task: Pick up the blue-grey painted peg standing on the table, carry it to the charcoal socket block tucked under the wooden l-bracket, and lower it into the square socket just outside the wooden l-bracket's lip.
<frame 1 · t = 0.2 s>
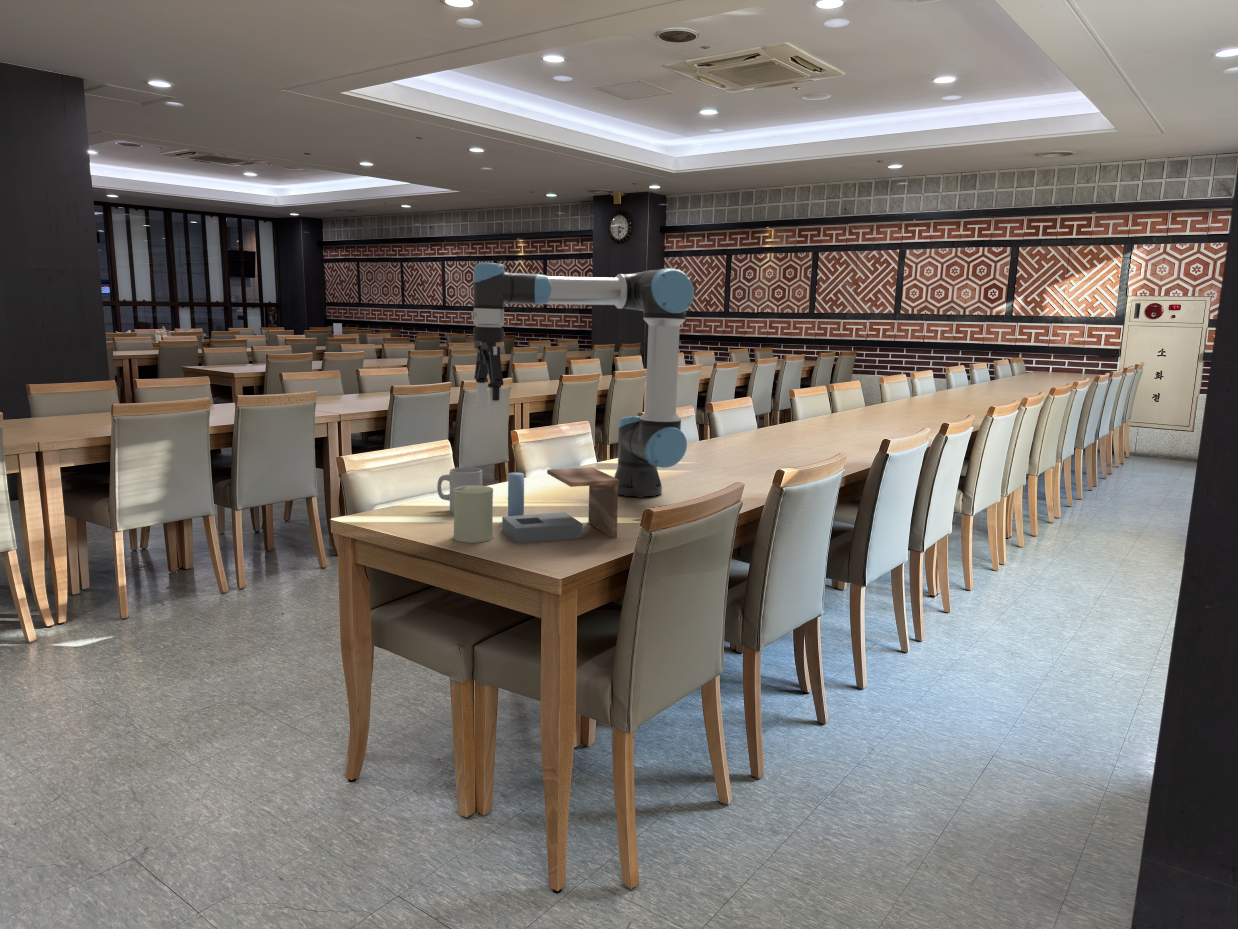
hand: (488, 410, 211), 27 cm above the table, fingers open, 13 cm apart
wooden l-bracket: (581, 531, 201), on the table
peg: (515, 520, 210), on the table
mug: (459, 511, 219), on the table
can: (473, 538, 192), on the table
socket: (541, 534, 197), on the table
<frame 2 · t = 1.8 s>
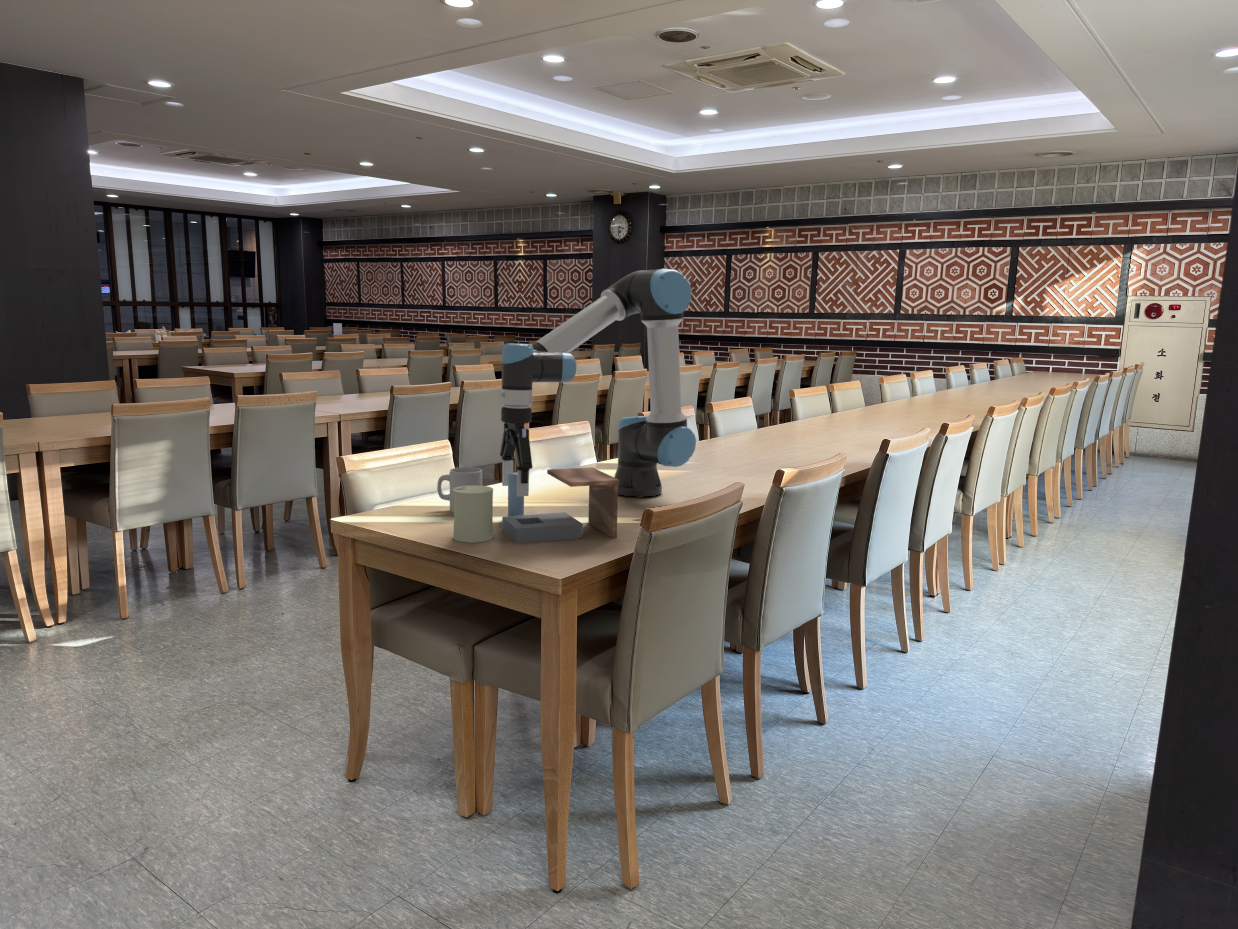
hand: (514, 490, 208), 8 cm above the table, fingers open, 13 cm apart
nothing on the table moved.
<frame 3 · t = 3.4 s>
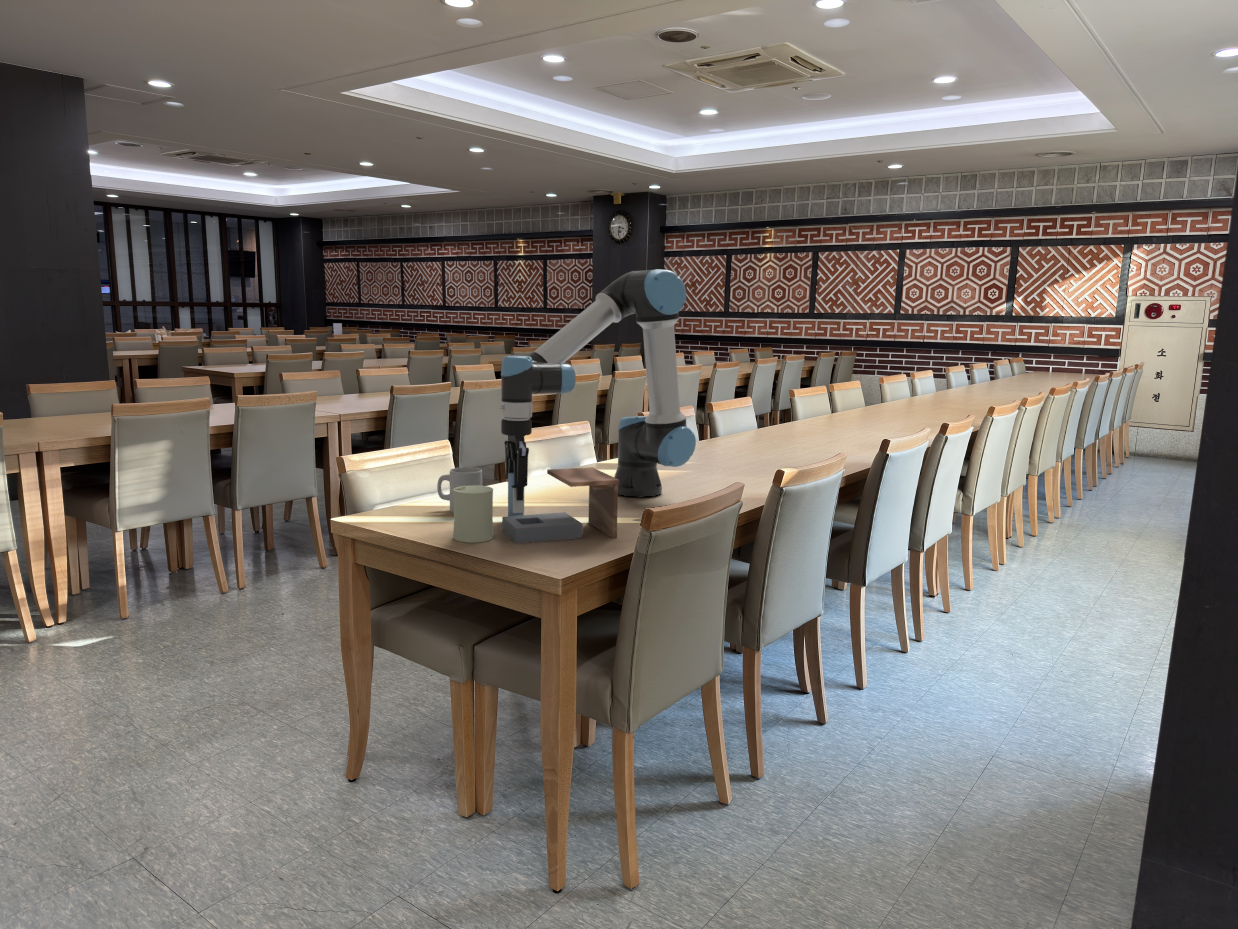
hand: (515, 510, 209), 3 cm above the table, fingers closed on peg, 4 cm apart
peg: (515, 520, 210), on the table, touching gripper
everything else where it was.
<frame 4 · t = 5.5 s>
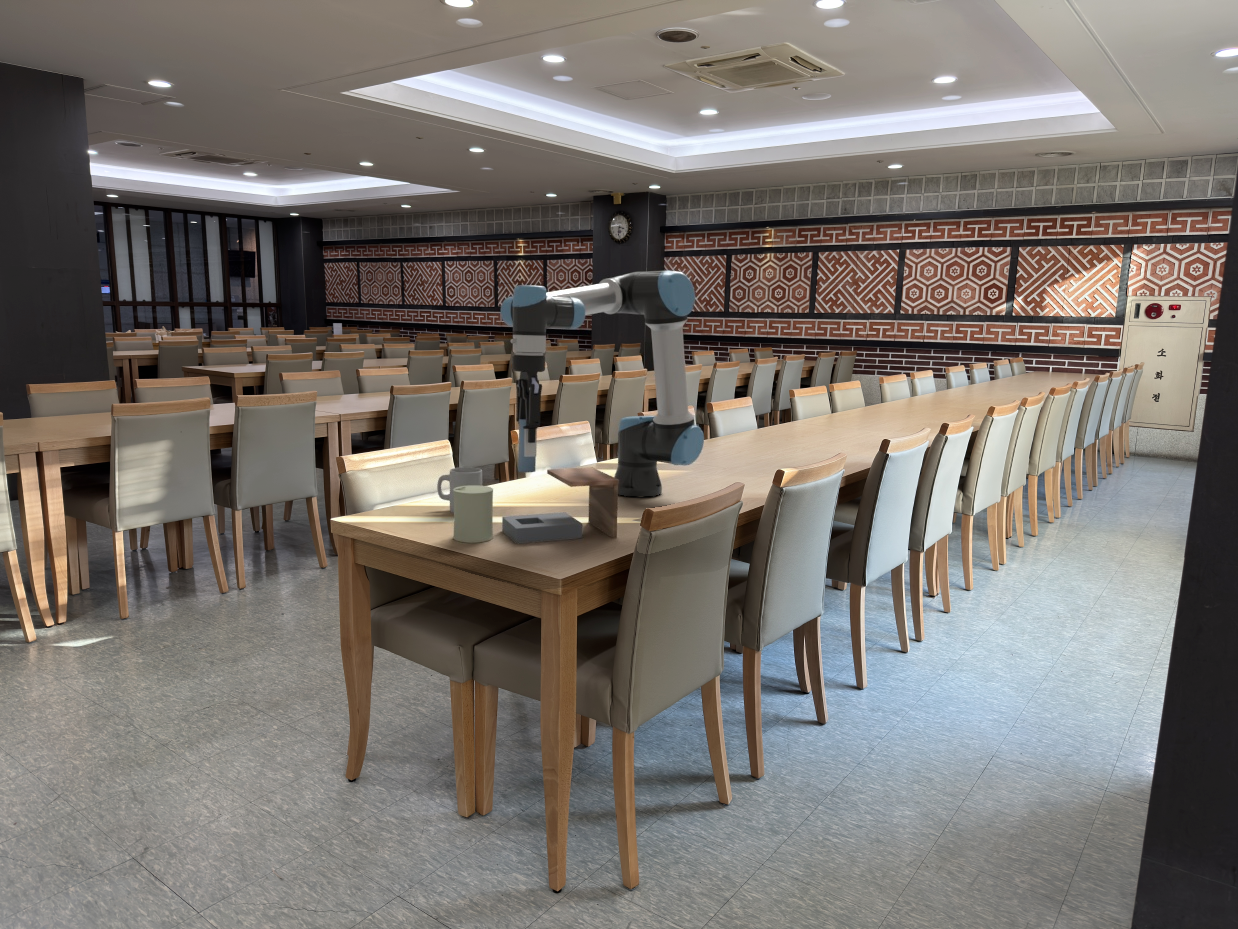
hand: (527, 454, 194), 19 cm above the table, fingers closed on peg, 4 cm apart
peg: (526, 470, 194), point 15 cm above the table, touching gripper
everything else where it was.
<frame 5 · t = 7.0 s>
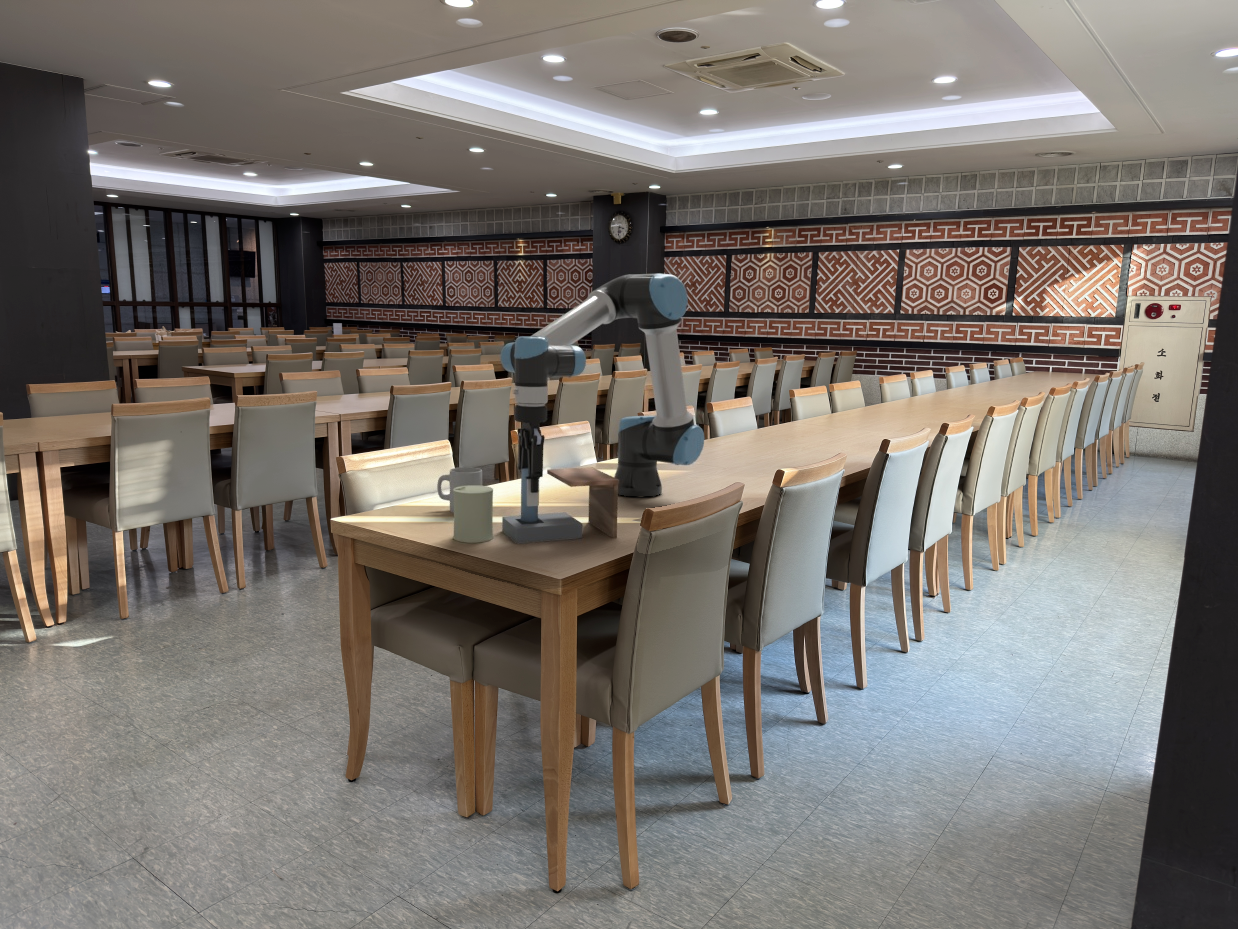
hand: (529, 503, 194), 8 cm above the table, fingers closed on peg, 4 cm apart
peg: (529, 519, 195), point 4 cm above the table, touching gripper
everything else where it was.
when the fingers open (4 cm above the table, at t = 8.0 s): peg stays where it is, resting in socket.
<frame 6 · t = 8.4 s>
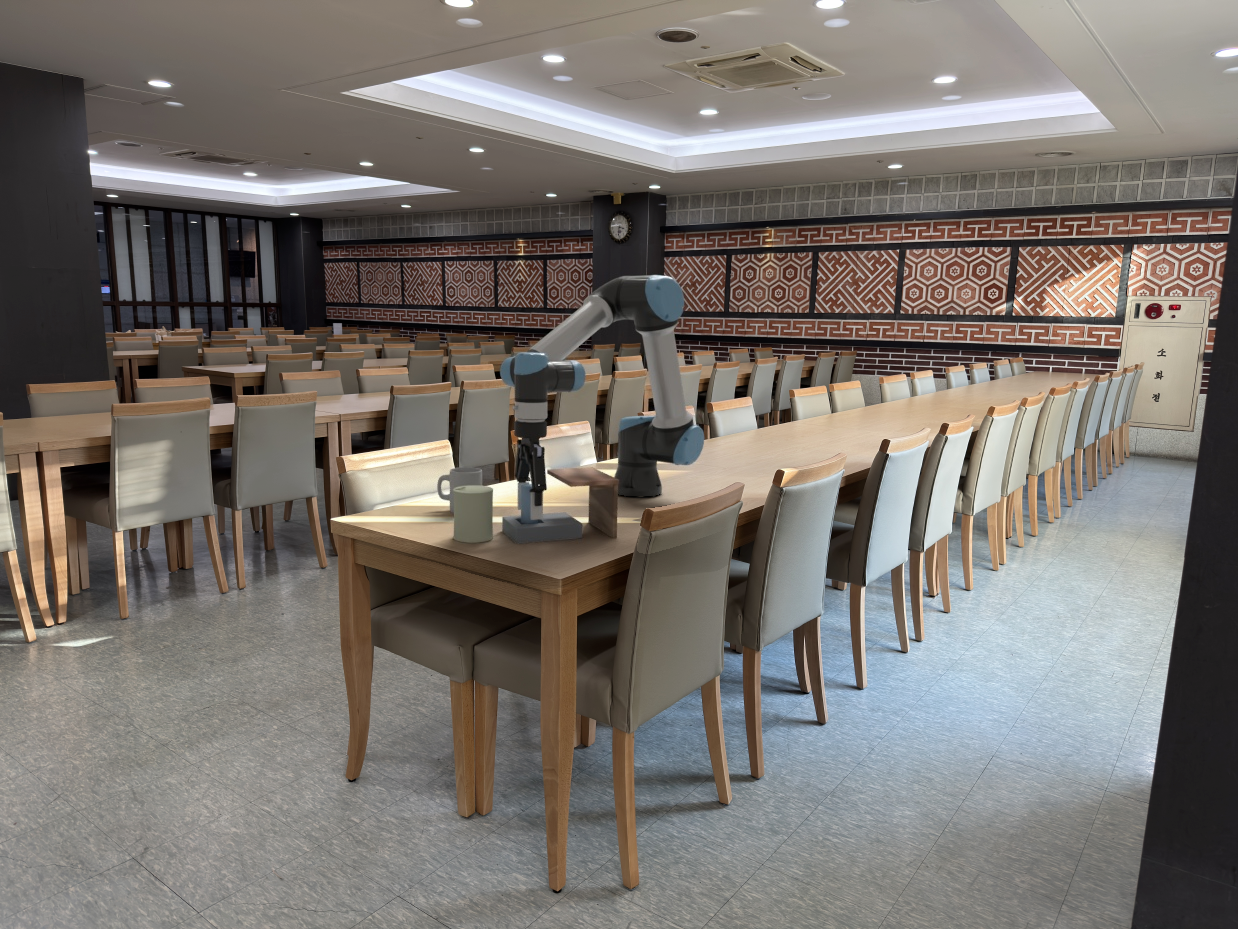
hand: (529, 513, 195), 5 cm above the table, fingers open, 10 cm apart
peg: (529, 535, 196), resting in socket
everything else where it was.
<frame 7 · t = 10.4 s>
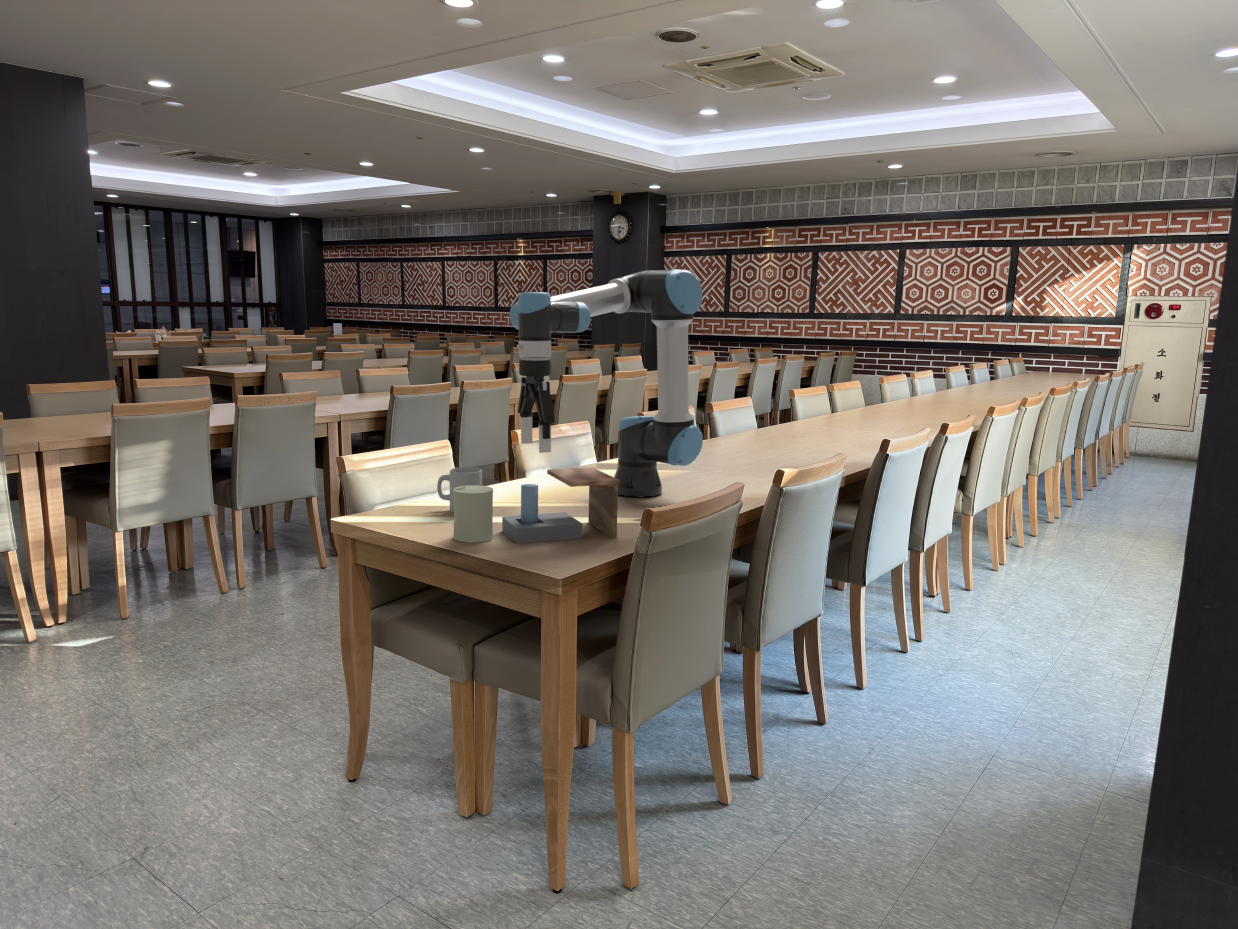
hand: (535, 447, 199), 20 cm above the table, fingers open, 13 cm apart
nothing on the table moved.
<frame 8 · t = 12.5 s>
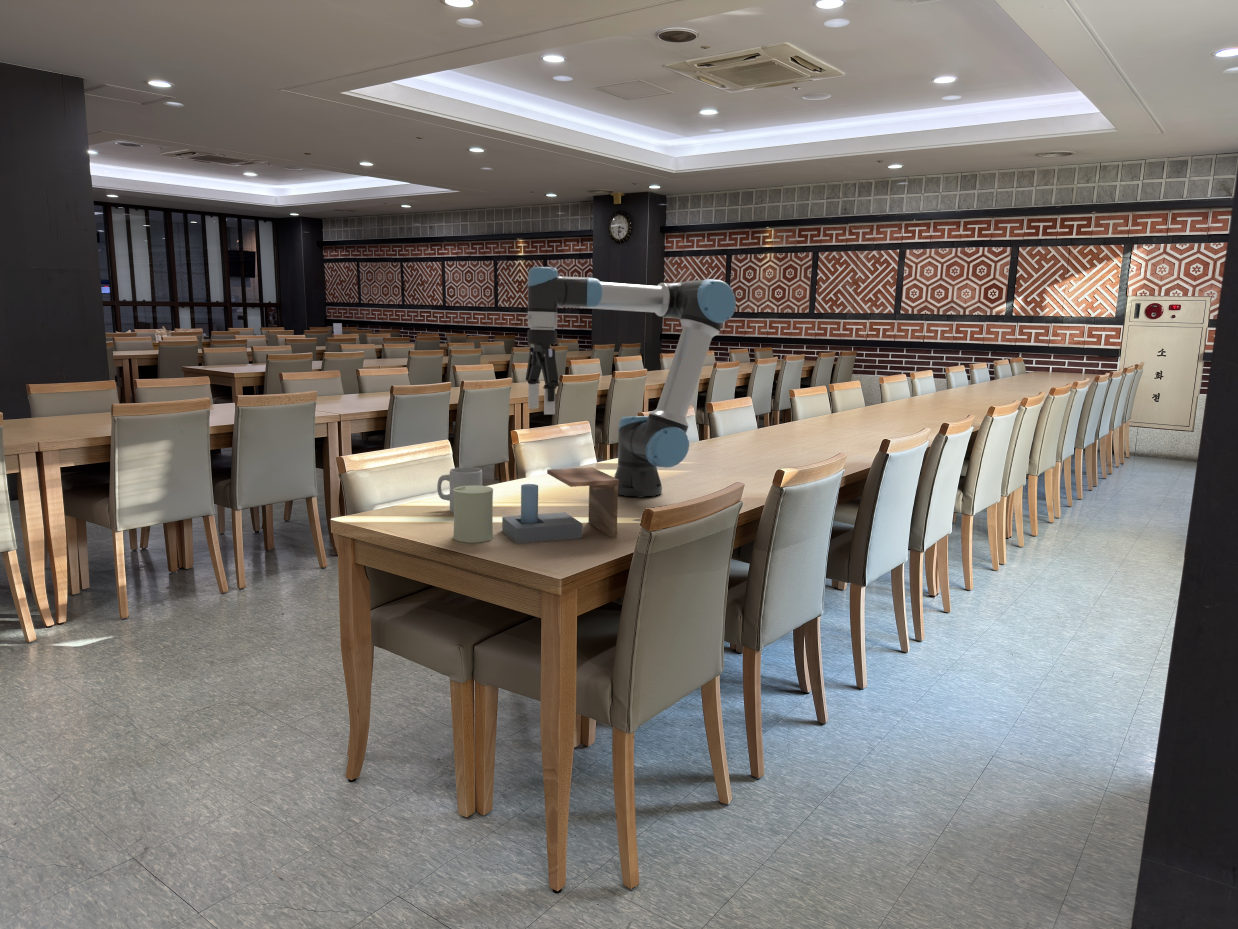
hand: (541, 411, 216), 27 cm above the table, fingers open, 13 cm apart
nothing on the table moved.
at the end: peg 0.1 cm from the target spot on the socket, point 0.0 cm above the socket's base; peg tilted 0°; the gripper is holding nothing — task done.
